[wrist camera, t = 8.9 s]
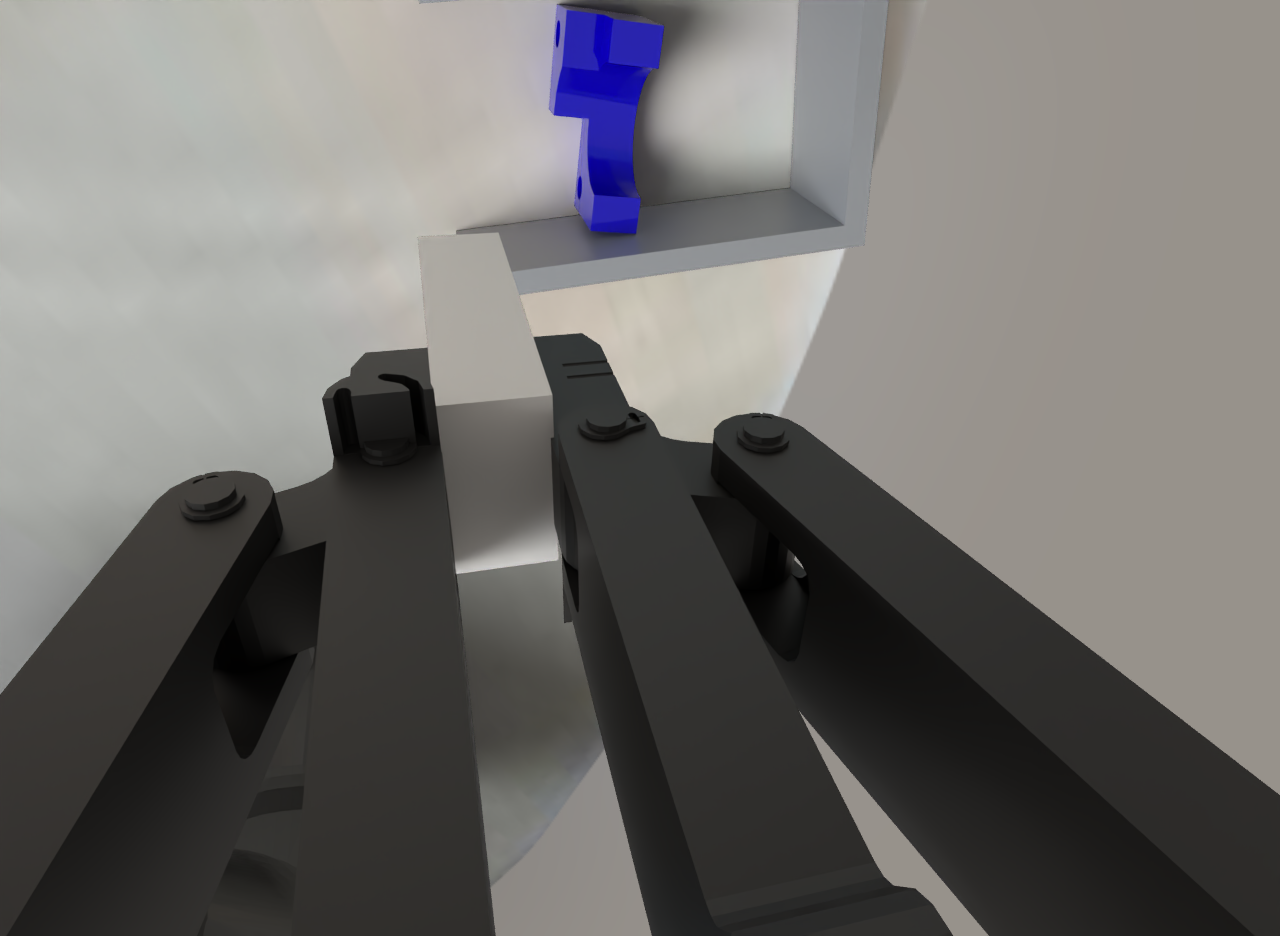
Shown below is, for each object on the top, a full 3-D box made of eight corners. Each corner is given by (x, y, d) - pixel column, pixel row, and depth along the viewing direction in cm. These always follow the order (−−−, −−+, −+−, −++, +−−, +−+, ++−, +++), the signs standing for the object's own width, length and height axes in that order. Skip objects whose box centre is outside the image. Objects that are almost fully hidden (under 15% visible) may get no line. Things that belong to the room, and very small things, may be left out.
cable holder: (556, 3, 35) (573, 13, 31) (638, 15, 36) (664, 25, 32) (541, 202, 39) (555, 228, 36) (615, 207, 40) (636, 233, 36)
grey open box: (808, 205, 42) (864, 245, 37) (459, 252, 39) (470, 301, 34) (824, -71, 35) (895, -68, 31) (408, -41, 32) (413, -32, 28)
